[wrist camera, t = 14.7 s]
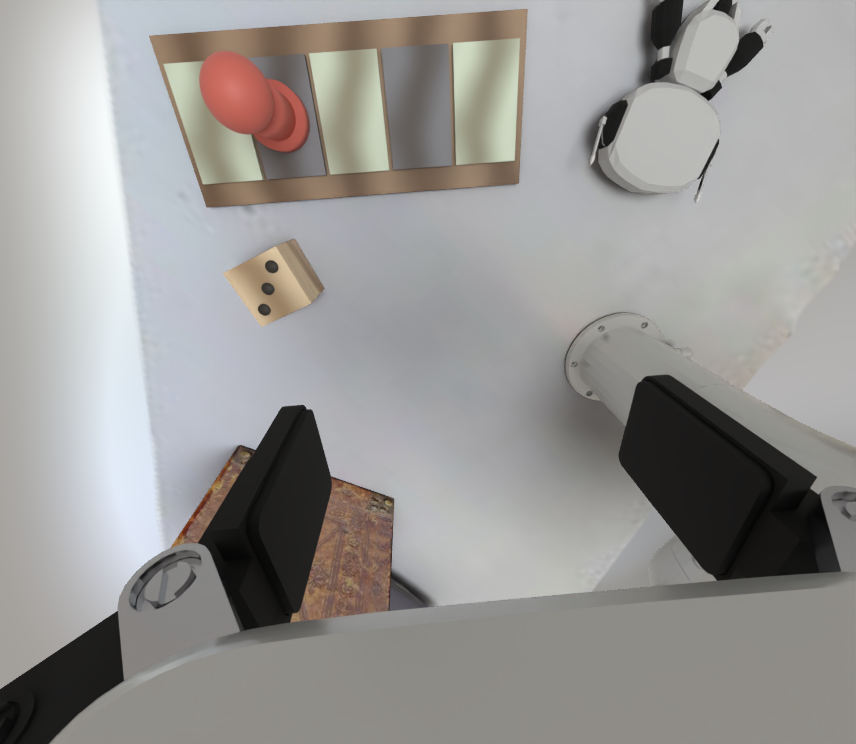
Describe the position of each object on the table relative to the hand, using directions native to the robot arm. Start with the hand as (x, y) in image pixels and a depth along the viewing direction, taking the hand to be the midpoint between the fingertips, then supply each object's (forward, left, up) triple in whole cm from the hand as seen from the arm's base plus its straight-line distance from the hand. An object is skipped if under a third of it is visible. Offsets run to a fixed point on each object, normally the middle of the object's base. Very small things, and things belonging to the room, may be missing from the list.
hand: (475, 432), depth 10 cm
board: (+6, -13, -32) cm, 35 cm away
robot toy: (-24, -12, -33) cm, 42 cm away
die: (+16, +1, -32) cm, 36 cm away
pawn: (+12, -13, -31) cm, 36 cm away
